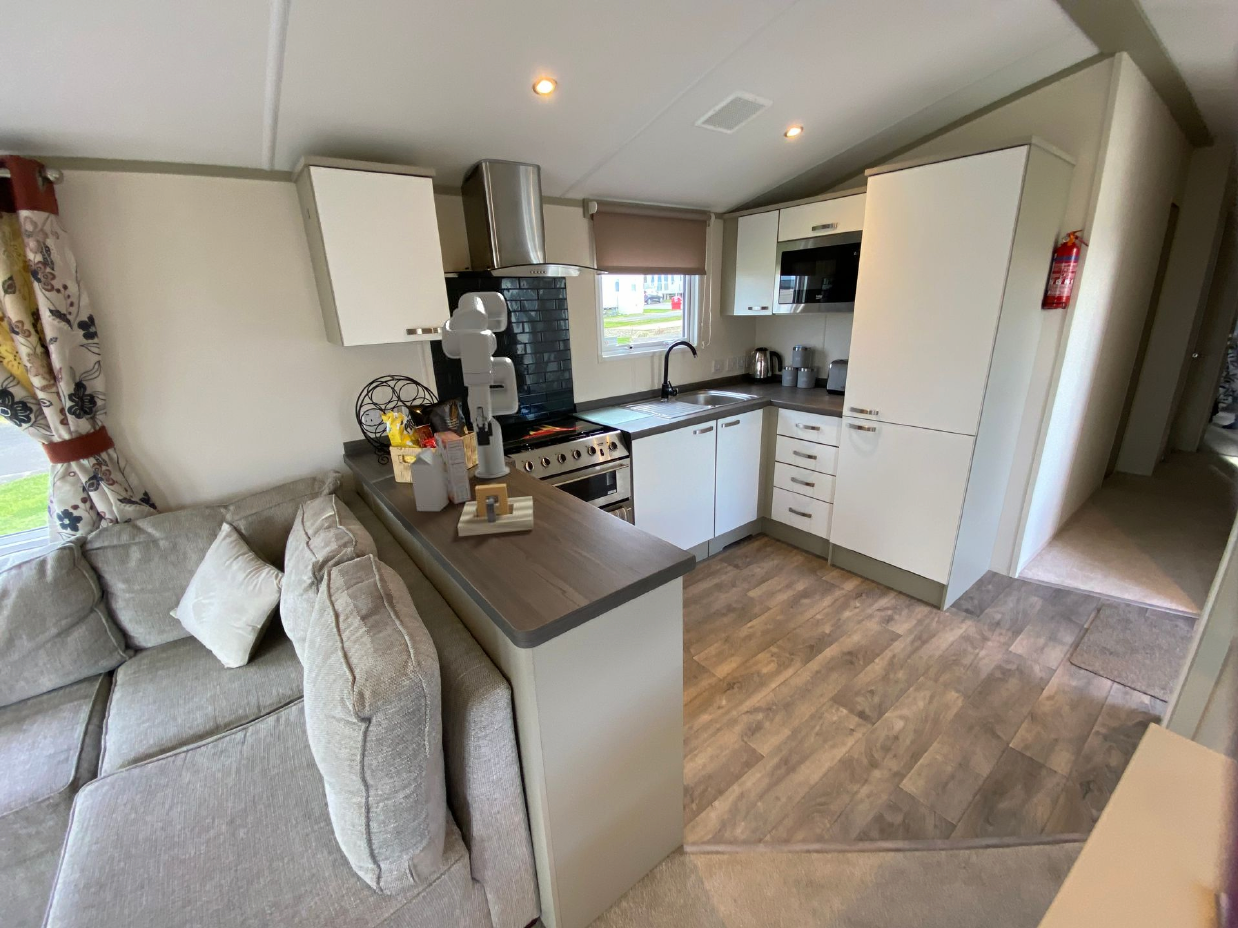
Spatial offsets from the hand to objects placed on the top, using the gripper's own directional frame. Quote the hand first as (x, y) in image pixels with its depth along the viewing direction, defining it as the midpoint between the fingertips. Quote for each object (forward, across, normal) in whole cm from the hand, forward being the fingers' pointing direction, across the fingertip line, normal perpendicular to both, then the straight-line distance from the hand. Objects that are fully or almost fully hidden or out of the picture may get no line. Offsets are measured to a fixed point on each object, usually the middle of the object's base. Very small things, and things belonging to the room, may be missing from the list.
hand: (485, 440), depth 137 cm
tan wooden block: (+23, +1, 0) cm, 23 cm away
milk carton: (+24, -15, -20) cm, 35 cm away
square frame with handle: (+24, 0, 0) cm, 24 cm away
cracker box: (+24, -23, -14) cm, 36 cm away
